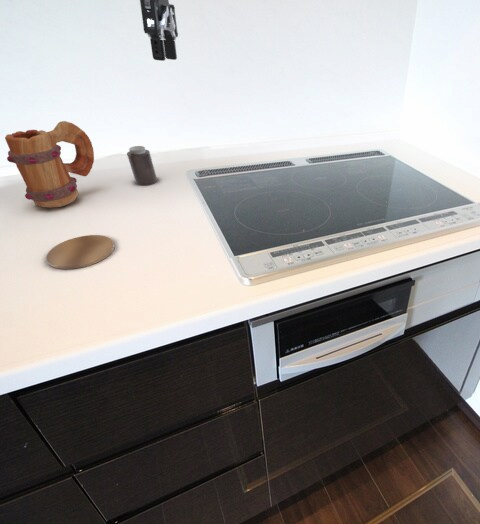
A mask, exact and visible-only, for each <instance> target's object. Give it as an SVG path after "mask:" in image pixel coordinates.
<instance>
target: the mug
mask: <svg viewBox="0 0 480 524" xmlns="http://www.w3.org/2000/svg"><path fill="white" fill-rule="evenodd" d="M4 139H5V142H6V145H7V146H8V149H9V150H8V151H7V155H8V156H7V157H6V160H7V162H9V163H13V164H15V165H16V168H17V170H18V172H19V174H20V175H21V177H22V180H23V182H24V184H25V186H26V189H25V192H26V193H25V194H24V198H25V199H26V200H29V201H30V200H31V201H33V202H34V204H35V205H36V206H38V207H42V208H60V207H64V206H68V205H70V204H71V203H73V202H74V201H75V200H76V199H77V197H78V196H79V193H80V191H79V190H78V185H77V182H78V180H77V178H76V177H73V176H70V174H69V173H71V174H74V175H78V176H81V177H87V176H88V175H89V174H90V173H91V170H92V168H93V166H94V162H95V151H94V147H93V143H92V141H91V139H90V137H89V136H88V134H87V133H86V132H85V131H84V130H83V129H81V128H80V127H79V126H78V125H76V124H74V123H73V122H70V121H66V120H62V121H59V122H58V123H57V124H56V126H55V127H54V128H53V129H52V130H50V131H46V130H44V129H43V130H37V129H28V130H26V131H22V130H19V131H15V132H13V133H11V134H9V133H8V134H6V135H5V136H4ZM61 142H63V143H67V144H71V145H74V148H75V157H74V159H73V161H72V162H67V163H66V162H64V161H63V159H62V157H61V154H62V152H61V150H62V147H61V145H59V144H57V143H61Z"/></svg>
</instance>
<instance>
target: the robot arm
mask: <svg viewBox="0 0 480 524" xmlns="http://www.w3.org/2000/svg"><path fill="white" fill-rule="evenodd" d="M139 5H140V11H141V19H142V25H143V26H142V27H143V32H144V34H146V35H147V36H148V38H149V40H150V48H151V54H152V59H153V60H155V61H161V62H162V61H166V60H172V61H174V60H175V61H176V60H177V59H178V55H177V45H176V40H177V38H178V37H179V33H178V32H179V31H178V25H177V17H176V10H175V9H176V8H175V5H174V4H172V3H171V4H170V1H169V0H139Z"/></svg>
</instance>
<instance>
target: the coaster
mask: <svg viewBox="0 0 480 524" xmlns="http://www.w3.org/2000/svg"><path fill="white" fill-rule="evenodd" d="M114 250H115V242H114V241H113V239H112V238H110V237H109V236H105V235H100V234H89V235H81V236H77V237H73V238H70V239H67V240H64V241H62V242H60V243H58V244H56V245H55V246H54V247H52V248H51V249H50V250H49V251H48V252H47V254H46V257H45V258H46V262H47V264H48V265H50V266H51V267H53V268H55V269H59V270H75V269H80V268H85V267H89V266H91V265H95V264H97V263H100V262H101V261H103V260H105V259H106V258H108V257H109V256H110V255H111V254H112V253H113V252H114Z"/></svg>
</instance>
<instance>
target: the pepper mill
mask: <svg viewBox="0 0 480 524" xmlns="http://www.w3.org/2000/svg"><path fill="white" fill-rule="evenodd" d="M128 150H129V151H127V153H126V156H127V159H128V162H129V166H130V169H131V171H132V175H133V178H134V182H135V184H136V185H138V186H150V185H153V184H155V183H157V182H158V178H157V174H156V170H155V165H154V163H153V160H152V155H151V152H150V150H149V149H146V147H145V146H143V145H135V146H130V147H129V148H128Z"/></svg>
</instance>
